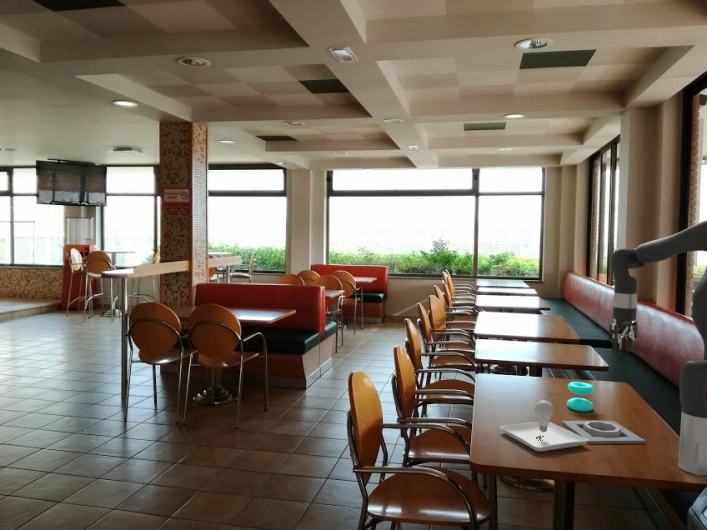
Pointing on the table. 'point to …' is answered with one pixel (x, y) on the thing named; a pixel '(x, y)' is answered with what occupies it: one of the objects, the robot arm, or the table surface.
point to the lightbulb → (543, 414)
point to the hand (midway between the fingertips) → (622, 352)
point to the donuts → (580, 403)
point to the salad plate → (552, 437)
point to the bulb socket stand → (603, 432)
